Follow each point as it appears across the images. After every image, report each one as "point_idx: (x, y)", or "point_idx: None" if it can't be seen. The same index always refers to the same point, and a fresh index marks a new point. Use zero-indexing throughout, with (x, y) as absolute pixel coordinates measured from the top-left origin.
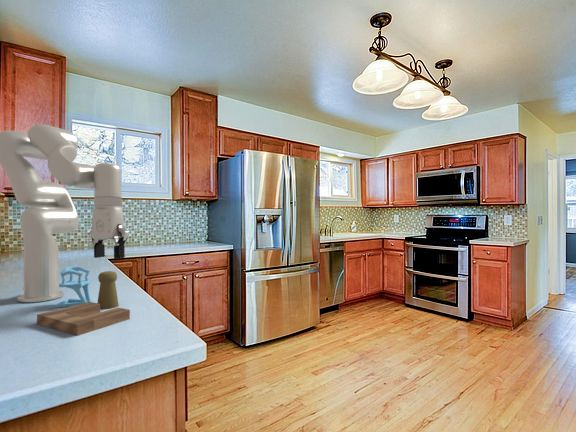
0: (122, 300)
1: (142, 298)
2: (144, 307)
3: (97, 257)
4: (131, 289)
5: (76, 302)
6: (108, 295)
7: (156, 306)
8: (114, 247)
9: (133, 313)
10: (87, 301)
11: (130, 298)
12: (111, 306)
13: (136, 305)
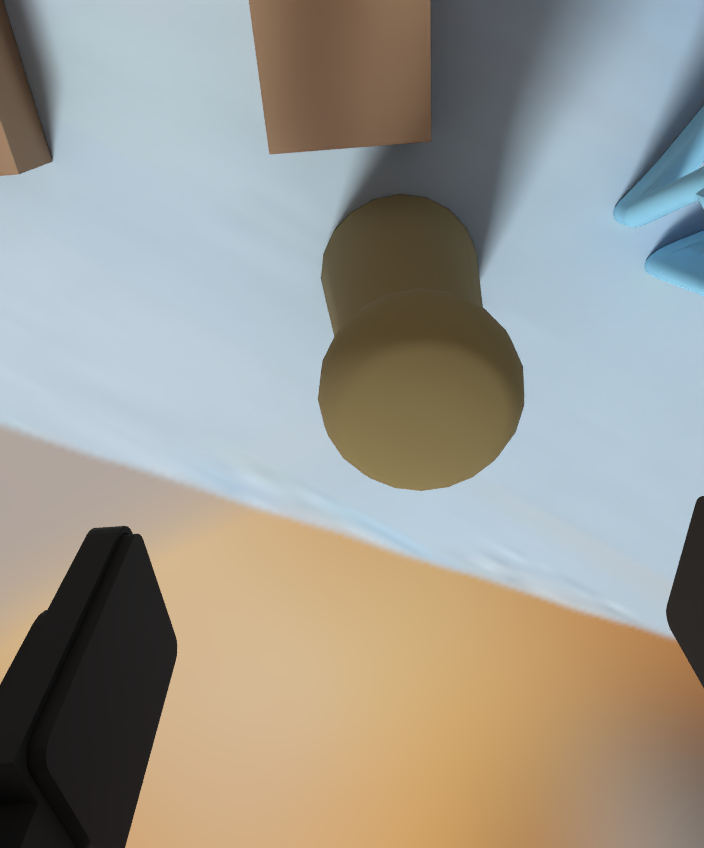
0: None
1: (381, 513)
2: (145, 396)
3: (699, 516)
4: None
5: (698, 153)
6: (338, 284)
7: (106, 447)
8: (4, 721)
9: (47, 271)
10: (666, 250)
11: None
12: (322, 267)
13: (241, 398)
